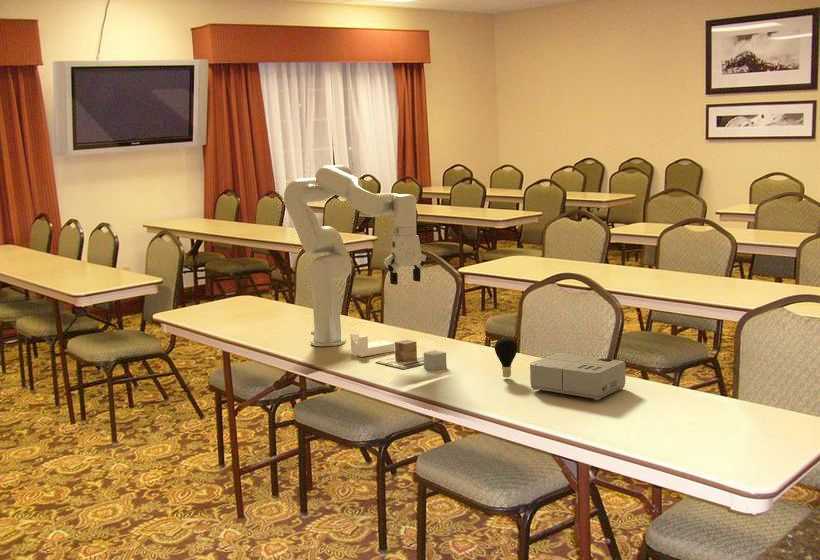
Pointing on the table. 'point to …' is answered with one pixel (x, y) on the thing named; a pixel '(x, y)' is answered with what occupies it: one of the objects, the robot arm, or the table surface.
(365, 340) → the bracket
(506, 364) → the light bulb
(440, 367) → the block
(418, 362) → the brown white flat panel
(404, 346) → the walnut block
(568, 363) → the projector
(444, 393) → the table surface
